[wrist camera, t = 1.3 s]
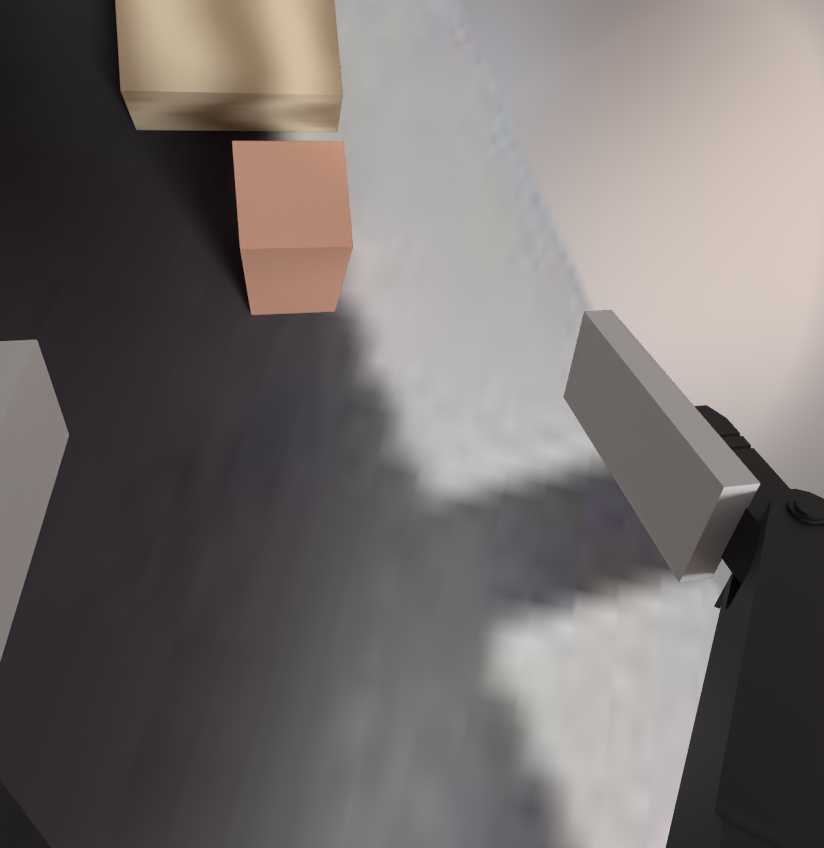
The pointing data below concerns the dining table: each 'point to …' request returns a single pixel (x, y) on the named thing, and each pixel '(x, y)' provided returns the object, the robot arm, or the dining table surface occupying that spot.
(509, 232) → the dining table surface
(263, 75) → the plinth
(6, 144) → the dining table surface
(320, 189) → the block
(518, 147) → the dining table surface
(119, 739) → the dining table surface
